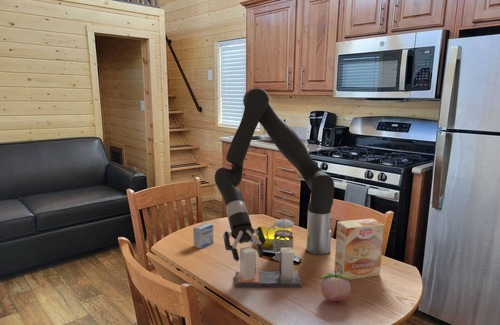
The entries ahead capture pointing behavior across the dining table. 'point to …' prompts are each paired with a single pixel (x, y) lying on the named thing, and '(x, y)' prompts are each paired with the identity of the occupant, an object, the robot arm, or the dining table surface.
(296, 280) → the grey stand
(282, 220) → the french press
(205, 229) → the medicine box
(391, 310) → the dining table surface
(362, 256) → the coffeecake box
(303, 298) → the dining table surface
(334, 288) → the decorative fruit
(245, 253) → the block
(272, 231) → the element tile
